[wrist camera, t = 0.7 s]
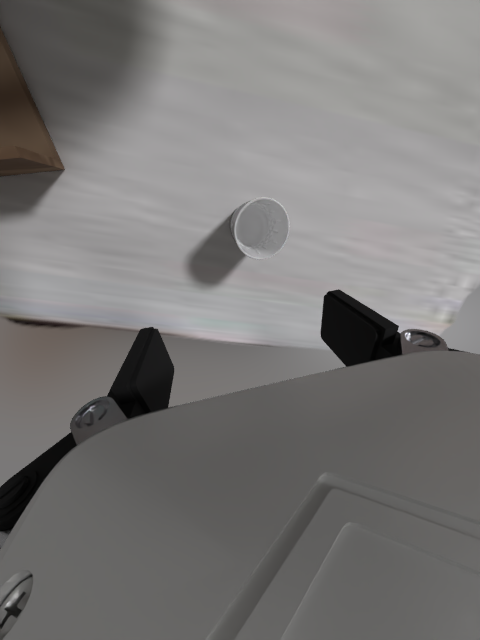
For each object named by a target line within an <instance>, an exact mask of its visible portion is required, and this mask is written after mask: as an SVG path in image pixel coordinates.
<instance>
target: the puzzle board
mask: <svg viewBox="0 0 480 640" xmlns="http://www.w3.org/2000/svg"><path fill="white" fill-rule="evenodd" d="M56 170H65V169H64V166H63V164H62V162H61V160H60V158H59V155H58V153H57V151H56V149H55V147H54V144H53V142H52V140H51V138H50V136H49V133H48V131H47V129H46V127H45V125H44V122H43V120H42V118H41V116H40V113H39V111H38V109H37V107H36V105H35V102H34V100H33V98H32V96H31V94H30V91H29V89H28V87H27V85H26V83H25V80H24V78H23V76H22V74H21V72H20V69H19V67H18V65H17V63H16V61H15V58H14V56H13V54H12V52H11V50H10V47H9V45H8V43H7V41H6V38H5V36H4V34H3V32H2V30H1V27H0V176H10V175H19V174H28V173H37V172H47V171H56Z"/></svg>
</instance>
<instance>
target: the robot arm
mask: <svg viewBox="0 0 480 640" xmlns="http://www.w3.org/2000/svg"><path fill="white" fill-rule="evenodd" d="M398 327H399V326H398V325H396V324H394V323H393V322H391V321H390V320H388V319H386V318H385V317H383V316H381V315H380V314H378V313H377V312H375V311H373V310H372V309H370V308H368V307H367V306H365V305H364V304H362V303H360V302H359V301H357V300H355V299H354V298H352V297H351V296H349V295H347V294H346V293H344V292H342V291H341V290H334V291H329V292H327V295H325V296H324V303H323V314H322V325H321V338H322V339H323V341H324V342H325V343H326V344H327V345H328V346H329V347H330V349H331V350H332V351H333V352H334V353H335V354H336V355H337V356H338V358H339V359H340V360H341V361H342V362H343V363H344V364H345V365H346V366H347V367H343V368H338V369H334V370H329V371H325V372H320V373H316V374H311V375H307V376H303V377H299V378H294V379H289V380H286V381H281V382H276V383H272V384H268V385H263V386H259V387H255V388H250V389H246V390H242V391H237V392H233V393H229V394H225V395H221V396H216V397H212V398H207V399H203V400H199V401H195V402H190V403H186V404H182V405H178V406H174V407H169V408H168V404H169V398H170V393H171V386H172V381H173V375H174V366H173V364H172V361H171V359H170V357H169V354H168V352H167V350H166V347H165V345H164V342H163V340H162V338H161V335H160V333H159V331H158V329H154V328H153V327H149V328H144V329H141V330H140V331H139V333H138V335H137V337H136V340H135V341H134V343H133V345H132V347H131V349H130V351H129V353H128V355H127V357H126V359H125V361H124V363H123V365H122V367H121V369H120V371H119V373H118V375H117V377H116V379H115V381H114V383H113V385H112V387H111V389H110V392H109V393H108V395H107V396H105V397H100V398H97V399H95V400H92V401H90V402H89V403H87V404H86V405H84V406H83V407H82V408H81V409H80V410H79V411H78V412H77V413H76V414H75V416H74V417H73V418H72V421H71V423H70V429H71V433H69V434H68V435H67V436H66V437H64V438H63V439H61V440H60V441H59V442H58V443H56V444H55V445H54V446H52V447H51V448H50V449H48V450H47V451H46V452H44V453H43V454H42V455H40V456H39V457H38V458H36V459H35V460H34V461H33V462H31V463H30V464H29V465H27V466H26V467H25V468H23V469H22V470H21V471H19V472H18V473H17V474H16V475H14V476H13V477H12V478H10V479H9V480H8V481H7V482H5V483H4V484H3V485H2V486H1V487H0V640H480V354H474V353H469V352H464V351H459V350H454V349H449V348H448V347H447V344H446V342H445V341H444V339H442V338H441V337H440V336H438V335H436V334H434V333H431V332H428V331H424V330H419V329H408V330H404V331H403V332H401V334H400V333H399V332H397V330H398Z"/></svg>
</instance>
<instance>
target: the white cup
mask: <svg viewBox="0 0 480 640" xmlns="http://www.w3.org/2000/svg"><path fill="white" fill-rule="evenodd" d="M230 229H231V233H232V236H233V238H234V240H235V242H236V244H237V245H238V247H239V249H240V250H241V251H242V252H243V253H244V254H245V255H246V256H248V257H250V258H252V259H257V260H263V259H268V258H270V257H272V256H274V255H276V254H277V253H278V252H279V251H280V250H281V249H282V248H283V246H284V245H285V243H286V241H287V238H288V235H289V230H290V223H289V217H288V214H287V212H286V210H285V209H284V207H283V206H282V205H281V204H280V203H279V202H278V201H276V200H274V199H272V198H267V197H260V198H256V199H253V200H251V201H248V202H246V203H244V204H243V205H241V206H240V207H239V208H237V209H236V210H235V212H234V213H233V215H232V217H231V223H230Z"/></svg>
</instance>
